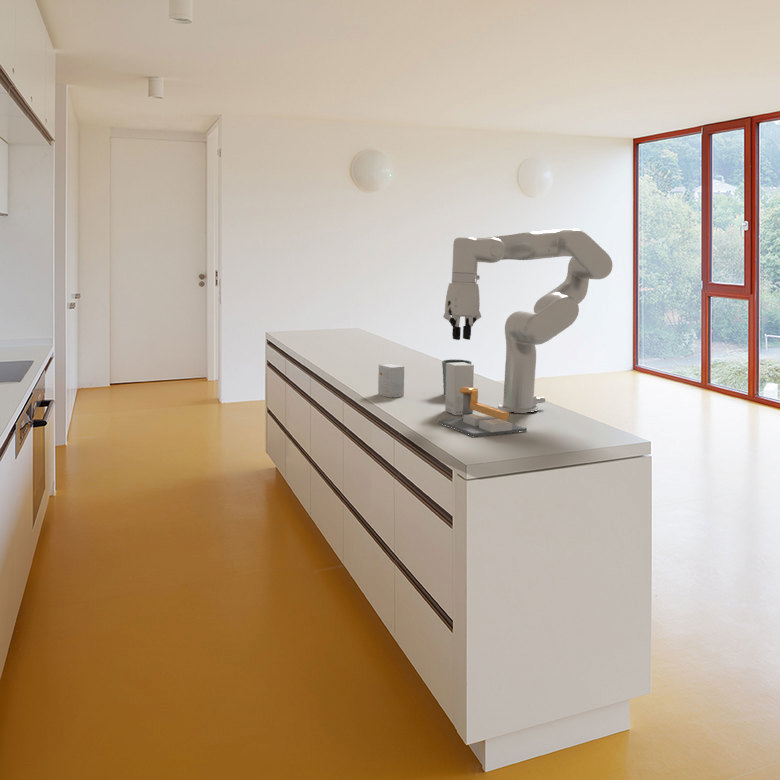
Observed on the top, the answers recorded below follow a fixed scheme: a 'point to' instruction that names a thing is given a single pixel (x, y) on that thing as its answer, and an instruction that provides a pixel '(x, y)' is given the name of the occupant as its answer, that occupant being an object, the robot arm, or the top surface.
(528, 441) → the top surface
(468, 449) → the top surface
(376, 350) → the top surface
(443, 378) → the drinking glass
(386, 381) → the small box
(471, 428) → the sled board
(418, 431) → the top surface
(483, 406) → the orange crank handle
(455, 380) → the skincare box
